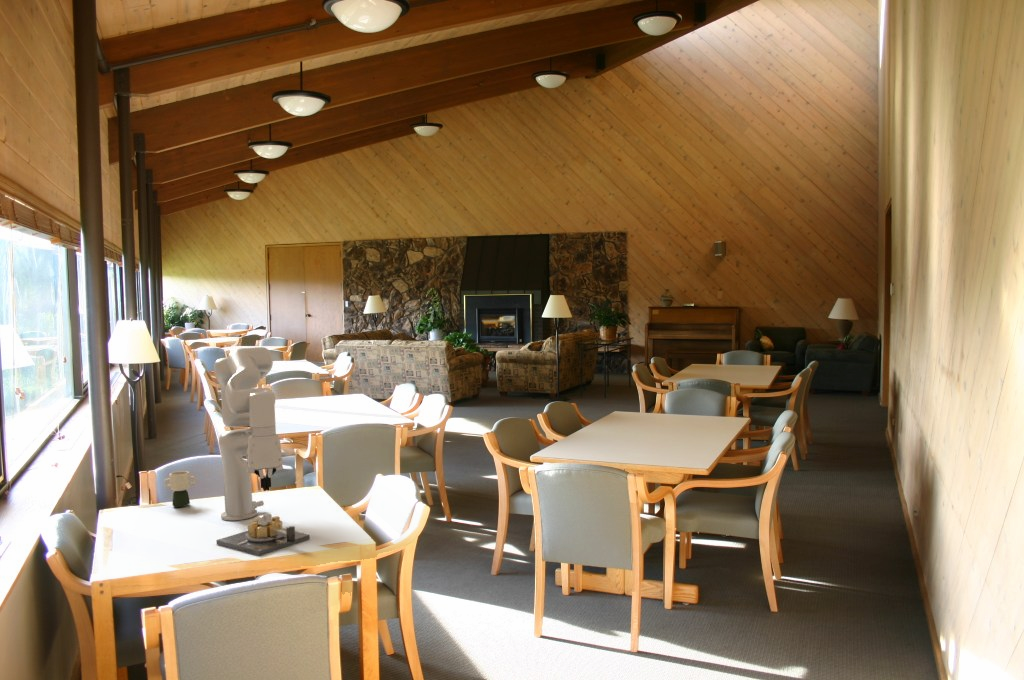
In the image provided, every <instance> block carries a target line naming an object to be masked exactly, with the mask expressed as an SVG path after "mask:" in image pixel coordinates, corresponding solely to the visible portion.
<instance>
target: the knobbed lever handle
mask: <svg viewBox="0 0 1024 680" xmlns="http://www.w3.org/2000/svg"><path fill="white" fill-rule="evenodd" d="M283 529H284V528H283V521H282V520H281V519H280V516H277V515H276V516H273V517H272V522H269V526H263V527H258V516H257V517H253V521H251V523H249V524H248V525H247V531H248V535H249V536H251V537H254V538H255V537H257V538H261V537H268V536H270V537H271V536H275V535H280V536H283V537H287V542H294V541H295V531H296V530H295V526H292V525H289V526H287V527H285V529H286V531H284V530H283Z"/></svg>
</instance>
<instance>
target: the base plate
mask: <svg viewBox="0 0 1024 680" xmlns="http://www.w3.org/2000/svg"><path fill="white" fill-rule="evenodd" d="M272 516H273V515H272V514H271V513H262V514H259V515H258V514H257V517H258V527H263V526H269V522H272ZM283 530H284V531H286V528H283ZM310 539H311V538H310V534H307V533H304V532H299V531H296V530H295V541H294V542H287V537H283V536H280V535H275V536H271V537H270V536H268V537H261V538H257V537H255V538H254V537H251V536H249V535H248V530H246V531H245V530H244V531H243V532H240V533H239V532H238V533H236V534H231V535H229V536H225V537H222V538H219V539H216V541H215V542H216V545H217V544H218V545H217V546H220V545H221V547H224V548H228V549H231V550H236V551H239V552H241V553H242V552H243V553H246V554H249V555H252V556H253V555H254V556H258V557H260V556H264V555H266V554H270V553H272V552H274V551H278V550H281V549H286V548H287V547H290V546H293V545H297V544H300V543H302V542H306V541H309V540H310Z"/></svg>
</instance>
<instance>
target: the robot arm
mask: <svg viewBox="0 0 1024 680" xmlns="http://www.w3.org/2000/svg"><path fill="white" fill-rule="evenodd" d="M273 362H274V361H273V355H272V352H271V351H270V350H269V349H268V348H266V347H264V346H263V347H262V346H261V347H260V346H258V347H245V348H236V349H234V350H232V351H230V353H229V354H228V356H227V357H221V358H218V359H216V361H215V362H214V363H213V364H214V365H213V370H214V371H213V372H214V373H213V374H214V377H215V379H216V381H217V382H218V383H217V384H218V385H219V389H220V395H221V397H220V398H221V416H222V417H221V418H222V423H223V424H224V426H226V427H228V428H238V429H230V430H227V431H224V432H223V433H221V434H220V436H219V437H218V446H219V450H220V452H219V453H220V455H221V456H220V457H221V463H222V475H223V490H224V491H223V492H224V493H223V495H224V510H225V511H224V512H222V513H221V514H220V518H221V519H222V520H224V521H243V520H248V519H251V518H255V517H256V516H258V510H257V508H258V507H259V508H260V507H262V506H264V505H265V504H264V503H265V502H264V501H263V500H259V501H255V500H254V501H253V490H252V474H253V475H256V476H257V477H259V479H260V480H259V481H260V488H261V489H263V492H266V491H270V488H271V487H272V479H271V478H272V477H273V475H274V474H275V473H276V472H278V471H281V470H283V469H284V466H283V453H282V445H281V439H280V436H279V434H277V428H276V427H277V426H276V405H275V404H276V395H275V392H273V391H272V389H271V388H269V387H259V388H258V387H257V388H256V386H257V385H258V384H259V383H260V381H261V379H265V378H266V377H267V375H268V374H269V373H270V371H271V370H272V368H273ZM240 427H241V428H240ZM242 427H249V428H242ZM245 456H246V457H247V458H246V460H245V459H244V458H243V457H245ZM264 470H266V474H264Z"/></svg>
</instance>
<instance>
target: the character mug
mask: <svg viewBox="0 0 1024 680" xmlns="http://www.w3.org/2000/svg"><path fill="white" fill-rule="evenodd" d="M190 480H191V481H192V482H191V481H190ZM168 482H169V483H168ZM194 485H196V477H195V476H193V475H192V476H191V475H190V471H187V470H179V471H178V470H177V471H173V472H171V473H169V478H164V487H165V488H170V490H171V491H173V494H172V506H173V507H176V508H177V507H178V508H180V507H181V508H182V507H186V506H188V505H190V504H191V501H190V497H189V493H188V489H190V487H191V486H194Z"/></svg>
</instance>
